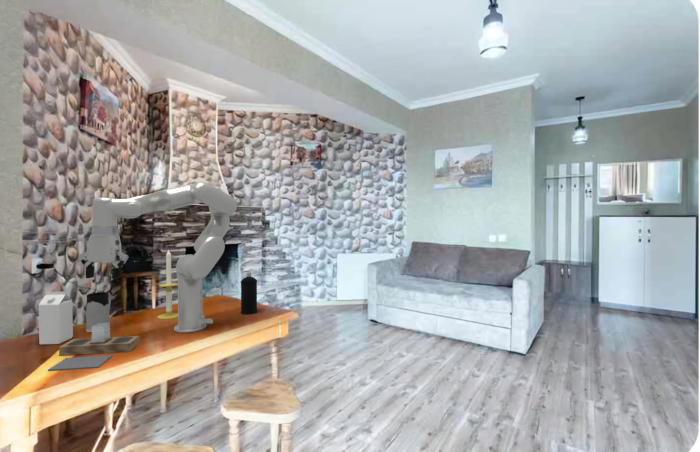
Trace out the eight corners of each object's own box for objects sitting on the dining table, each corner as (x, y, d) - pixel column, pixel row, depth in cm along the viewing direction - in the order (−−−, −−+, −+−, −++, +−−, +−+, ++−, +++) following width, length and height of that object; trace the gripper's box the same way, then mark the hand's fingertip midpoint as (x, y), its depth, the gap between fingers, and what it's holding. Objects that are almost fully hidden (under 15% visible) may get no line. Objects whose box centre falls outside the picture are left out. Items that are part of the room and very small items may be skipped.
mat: (112, 356, 119) (112, 355, 119) (98, 367, 110) (98, 366, 110) (66, 359, 116) (66, 358, 116) (47, 370, 107) (47, 369, 107)
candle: (154, 319, 161) (153, 249, 160) (160, 313, 171) (160, 248, 170) (177, 318, 163) (177, 249, 162) (182, 312, 173) (182, 247, 172)
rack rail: (139, 343, 131) (139, 335, 131) (129, 351, 123) (129, 343, 123) (73, 347, 127) (73, 338, 127) (59, 355, 119) (59, 346, 119)
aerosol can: (254, 314, 170) (254, 274, 170) (238, 314, 170) (238, 273, 170) (259, 310, 179) (259, 271, 178) (243, 310, 179) (243, 271, 178)
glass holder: (80, 333, 142) (79, 296, 142) (99, 322, 156) (99, 289, 156) (103, 332, 144) (103, 295, 143) (120, 321, 158) (120, 288, 157)
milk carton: (53, 338, 136) (52, 290, 136) (73, 337, 137) (72, 289, 136) (39, 344, 129) (38, 294, 128) (59, 344, 130) (58, 293, 129)
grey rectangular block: (110, 347, 127) (109, 322, 127) (104, 351, 123) (104, 326, 123) (97, 347, 126) (97, 323, 126) (91, 352, 122) (91, 326, 122)
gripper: (134, 231, 131) (133, 277, 131) (88, 230, 131) (87, 276, 131) (121, 232, 123) (120, 280, 124) (72, 230, 123) (71, 279, 123)
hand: (103, 278), depth 127 cm, fingers open, 9 cm apart
